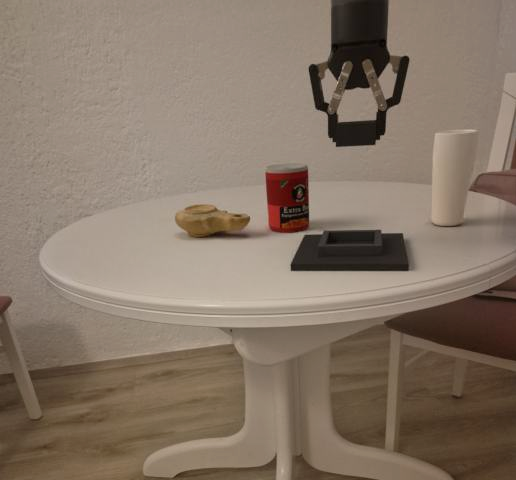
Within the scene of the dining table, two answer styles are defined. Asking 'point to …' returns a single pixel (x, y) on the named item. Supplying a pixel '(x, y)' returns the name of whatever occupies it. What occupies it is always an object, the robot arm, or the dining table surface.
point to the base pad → (351, 251)
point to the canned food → (287, 197)
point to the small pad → (356, 133)
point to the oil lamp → (209, 220)
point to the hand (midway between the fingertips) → (356, 140)
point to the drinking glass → (452, 174)
